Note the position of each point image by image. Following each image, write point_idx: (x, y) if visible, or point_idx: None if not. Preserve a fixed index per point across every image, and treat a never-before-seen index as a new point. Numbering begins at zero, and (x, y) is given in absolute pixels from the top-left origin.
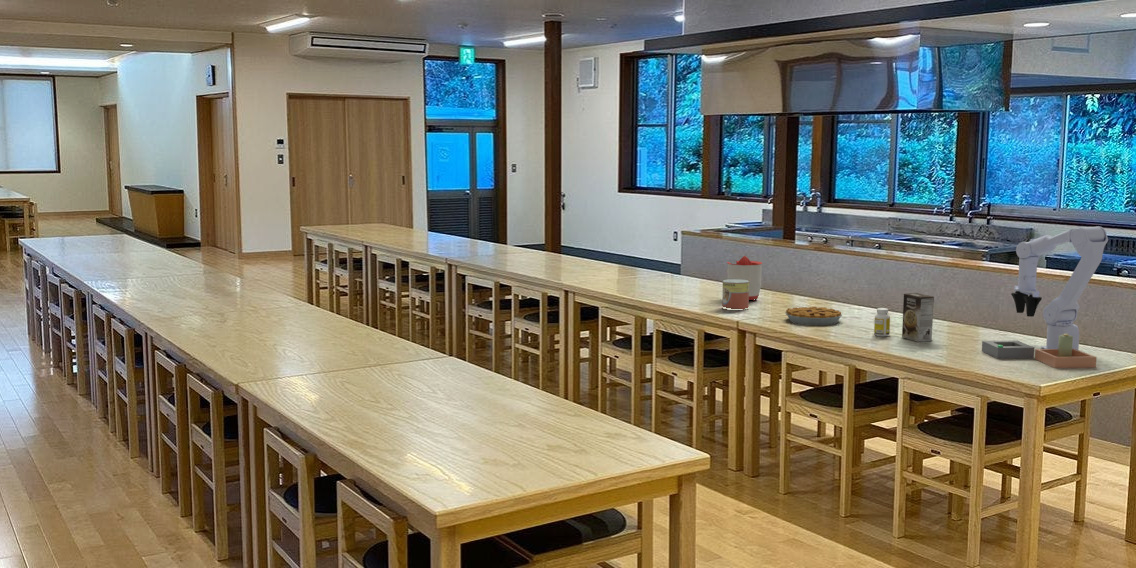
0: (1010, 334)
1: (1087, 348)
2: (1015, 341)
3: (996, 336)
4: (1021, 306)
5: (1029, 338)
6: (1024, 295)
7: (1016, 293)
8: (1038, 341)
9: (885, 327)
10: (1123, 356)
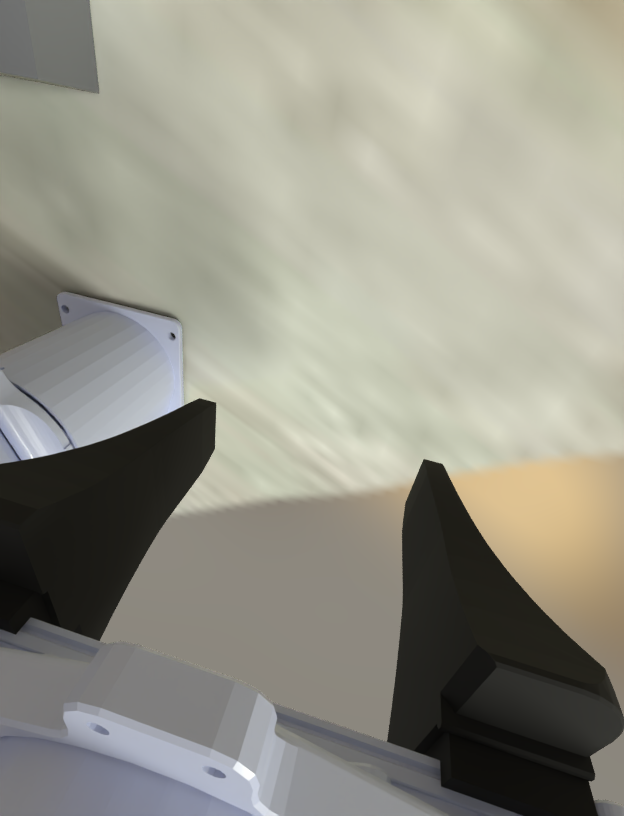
0: (612, 446)
1: None
2: None
3: (617, 312)
4: (414, 542)
5: (446, 453)
6: (405, 715)
7: (480, 707)
8: (354, 435)
9: None
10: None
